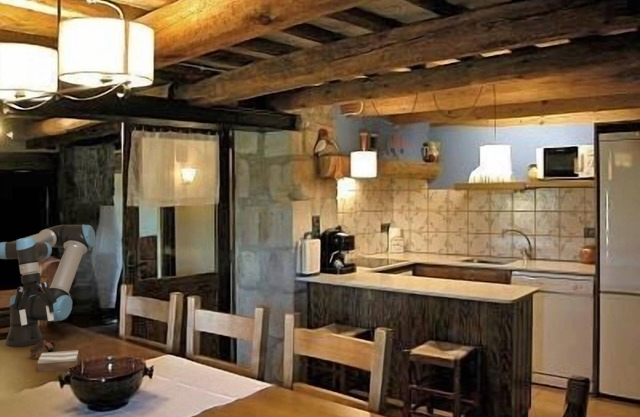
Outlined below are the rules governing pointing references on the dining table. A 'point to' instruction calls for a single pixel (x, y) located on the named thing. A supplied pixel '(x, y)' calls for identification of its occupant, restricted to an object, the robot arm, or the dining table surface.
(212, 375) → the dining table surface
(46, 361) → the pale flat block
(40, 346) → the brown black arched figure
